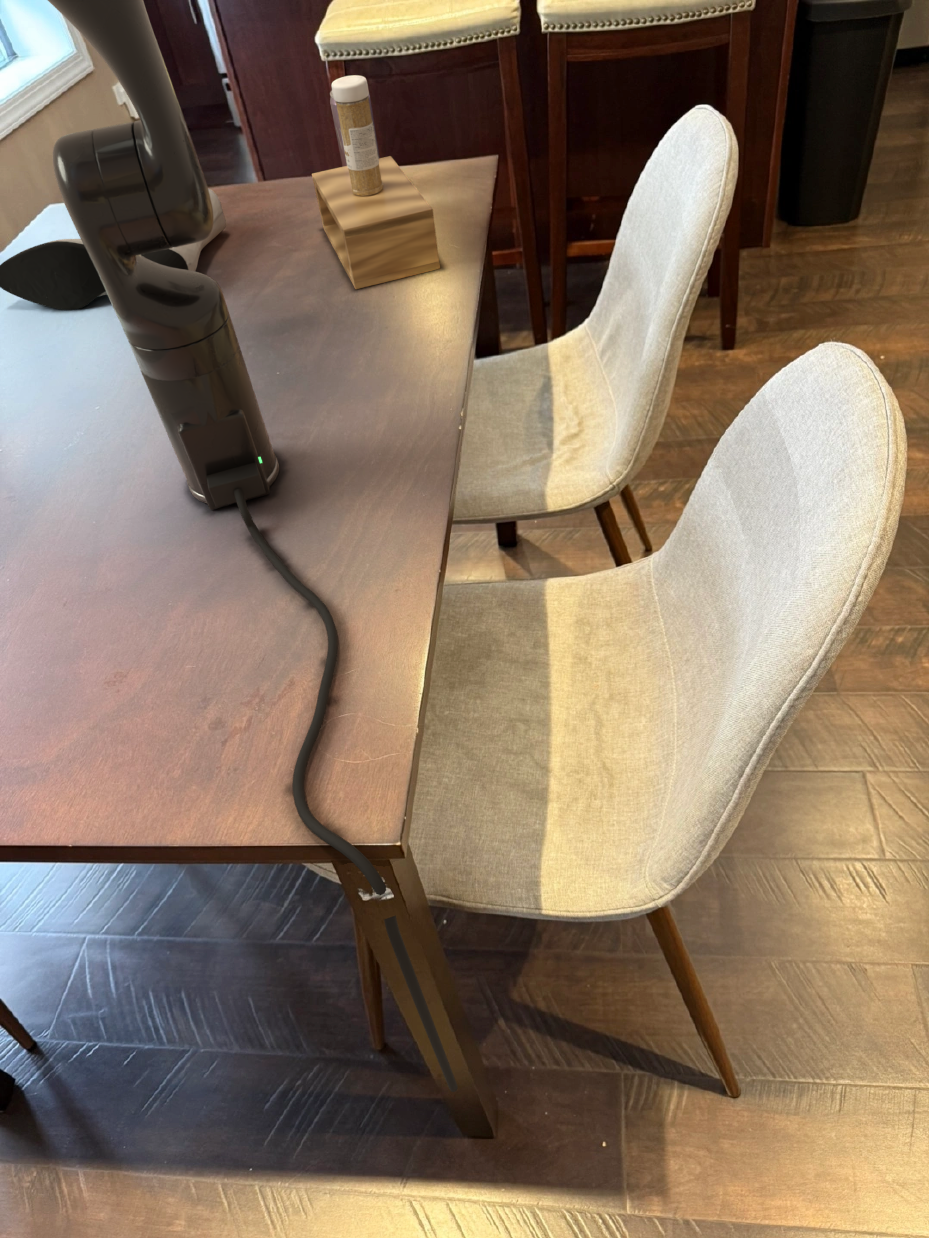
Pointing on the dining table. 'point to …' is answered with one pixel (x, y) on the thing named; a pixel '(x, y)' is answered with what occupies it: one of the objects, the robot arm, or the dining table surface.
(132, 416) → the dining table surface
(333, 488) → the dining table surface
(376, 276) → the box
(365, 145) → the sprinkles bottle
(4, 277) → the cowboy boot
